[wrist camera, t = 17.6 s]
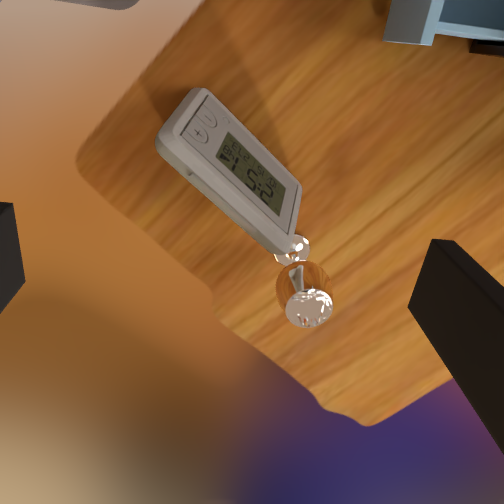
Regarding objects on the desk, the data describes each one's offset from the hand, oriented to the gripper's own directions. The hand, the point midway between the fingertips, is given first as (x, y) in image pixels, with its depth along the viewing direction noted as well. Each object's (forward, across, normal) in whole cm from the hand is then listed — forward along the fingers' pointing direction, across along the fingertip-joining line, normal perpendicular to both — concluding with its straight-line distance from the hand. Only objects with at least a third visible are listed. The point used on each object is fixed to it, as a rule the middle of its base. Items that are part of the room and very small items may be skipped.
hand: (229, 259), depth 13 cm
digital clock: (+33, +2, -5) cm, 33 cm away
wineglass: (+33, +9, -16) cm, 38 cm away
